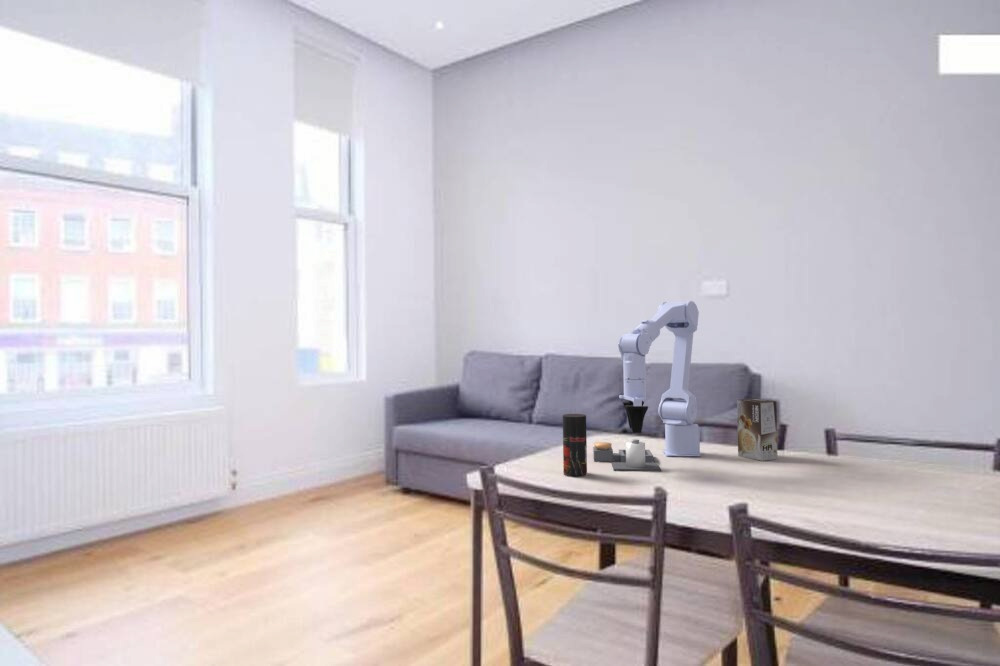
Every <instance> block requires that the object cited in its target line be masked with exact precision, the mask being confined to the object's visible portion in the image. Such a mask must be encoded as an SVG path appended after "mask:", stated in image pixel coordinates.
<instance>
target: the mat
mask: <svg viewBox="0 0 1000 666" xmlns="http://www.w3.org/2000/svg"><path fill="white" fill-rule="evenodd" d="M611 466H612V468H613V472H617V471H619V472H662V468H661V467H660V465H659V463H658V462H653V463H645V467H642V468H632V467H627V466H626V462H621V461H620V462H619V461H617V462H616V461H613V462H611Z"/></svg>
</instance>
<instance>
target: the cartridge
mask: <svg viewBox="0 0 1000 666" xmlns="http://www.w3.org/2000/svg"><path fill="white" fill-rule="evenodd" d="M625 450H626V466H627V467H632V468H642V467H645V450H646V442H643V441H640V439H636V438H635V439H634V438H633V439H631V441H627V442H625Z"/></svg>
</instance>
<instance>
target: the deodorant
mask: <svg viewBox="0 0 1000 666" xmlns="http://www.w3.org/2000/svg"><path fill="white" fill-rule="evenodd" d="M587 443H588V442H587V415H586V414H584V413H583V414H582V413H567V414H562V447H563V448H562V451H563V452H562V453H563V454H562V456H563V457H562V459H563V461H562V462H563V465H562V466H563V476H566V477H571V478H578V477H579V478H582V477H586V476H587V475H588V460H587V459H588V458H587V455H588V453H587V451H588V449H587V447H588V446H587Z"/></svg>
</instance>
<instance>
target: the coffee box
mask: <svg viewBox="0 0 1000 666" xmlns="http://www.w3.org/2000/svg"><path fill="white" fill-rule="evenodd" d="M736 410H737V411H736V414H737V416H736V417H737V420H736V421H737V455H738V456H739V457H743V458H747V459H752V460H757V461H761V462H764V461H765V462H766V461H771V460H772V461H773V460H777V459H778V458H779V457H778V421H777V420H778V417H777V415H778V414H777V412H778V411H777V400H769V399H761V398H751V397H750V398H742V399H736Z"/></svg>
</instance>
